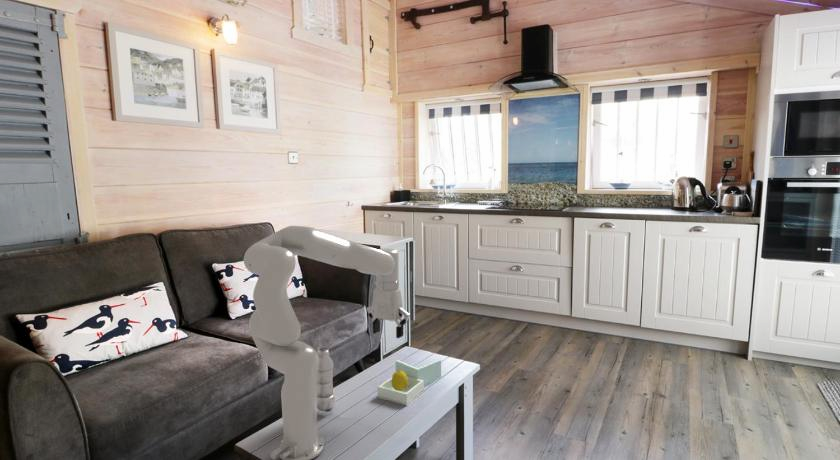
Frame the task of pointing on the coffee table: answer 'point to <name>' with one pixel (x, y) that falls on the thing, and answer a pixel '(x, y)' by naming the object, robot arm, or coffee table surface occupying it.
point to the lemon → (399, 380)
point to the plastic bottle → (324, 381)
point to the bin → (401, 397)
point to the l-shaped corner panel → (421, 371)
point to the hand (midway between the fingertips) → (387, 334)
